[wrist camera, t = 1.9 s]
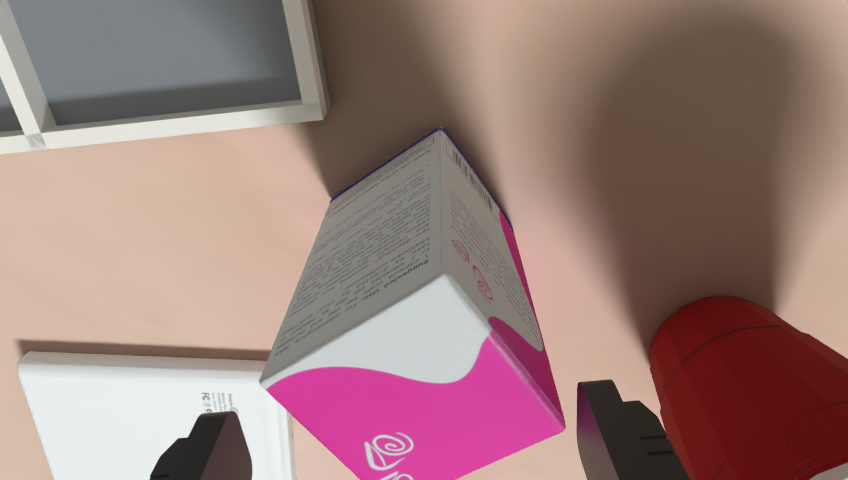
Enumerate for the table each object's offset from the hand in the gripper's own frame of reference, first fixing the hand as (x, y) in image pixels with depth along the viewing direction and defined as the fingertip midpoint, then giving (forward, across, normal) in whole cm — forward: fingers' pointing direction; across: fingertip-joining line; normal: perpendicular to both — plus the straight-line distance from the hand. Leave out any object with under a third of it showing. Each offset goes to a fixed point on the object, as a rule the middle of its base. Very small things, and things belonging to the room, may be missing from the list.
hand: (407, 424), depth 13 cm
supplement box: (+12, 0, 0) cm, 12 cm away
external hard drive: (+13, +14, +10) cm, 21 cm away
